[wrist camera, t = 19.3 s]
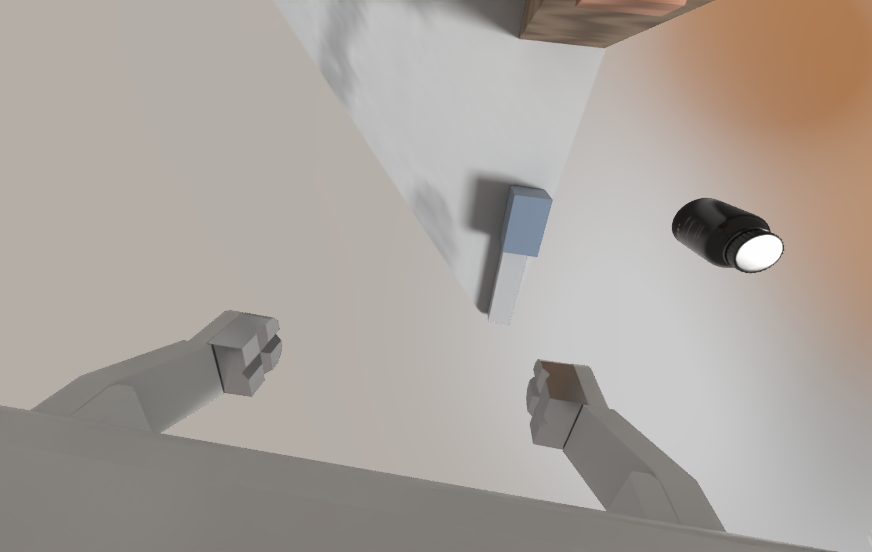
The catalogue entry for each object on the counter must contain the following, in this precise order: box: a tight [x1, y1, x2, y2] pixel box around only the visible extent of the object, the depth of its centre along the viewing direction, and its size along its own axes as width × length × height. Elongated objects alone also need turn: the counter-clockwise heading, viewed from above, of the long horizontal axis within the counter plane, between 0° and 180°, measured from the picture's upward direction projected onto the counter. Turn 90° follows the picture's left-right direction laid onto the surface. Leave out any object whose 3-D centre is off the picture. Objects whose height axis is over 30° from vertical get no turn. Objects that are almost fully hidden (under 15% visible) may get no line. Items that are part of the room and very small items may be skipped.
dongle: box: [488, 186, 553, 325], centre depth 50 cm, size 5×22×6 cm, turn 174°
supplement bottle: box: [672, 198, 784, 273], centre depth 42 cm, size 7×7×12 cm
